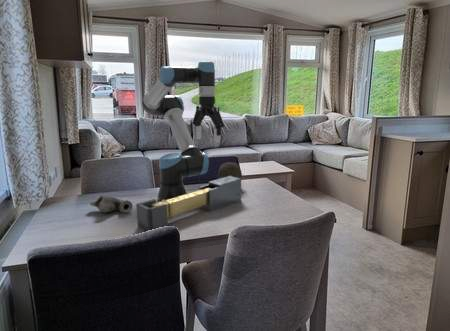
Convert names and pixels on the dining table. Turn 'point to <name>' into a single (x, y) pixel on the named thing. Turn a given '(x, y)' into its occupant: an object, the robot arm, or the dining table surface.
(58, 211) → the dining table surface
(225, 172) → the cantaloupe
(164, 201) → the bar
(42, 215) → the dining table surface
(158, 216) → the socket
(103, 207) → the pipe
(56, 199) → the dining table surface
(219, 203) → the sleeve
